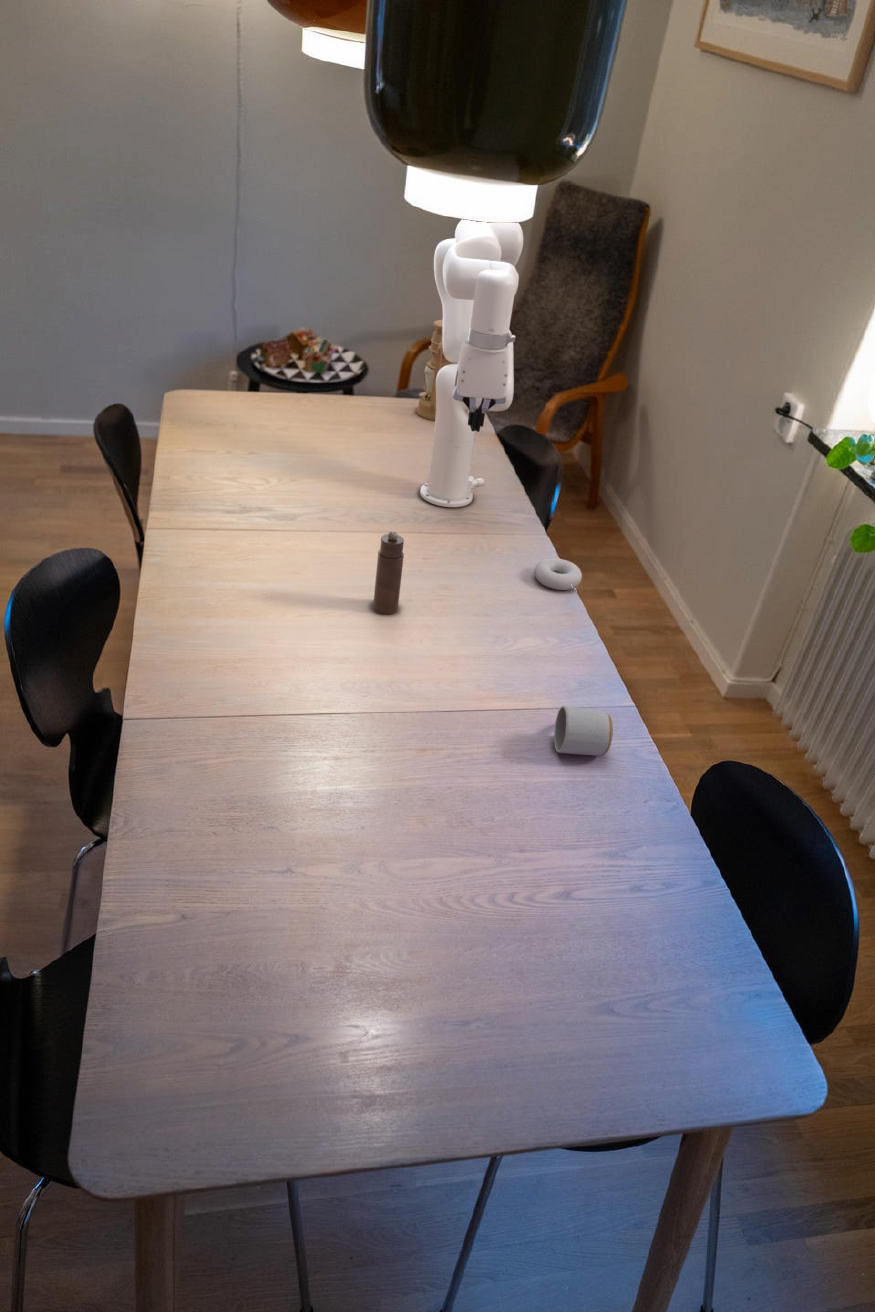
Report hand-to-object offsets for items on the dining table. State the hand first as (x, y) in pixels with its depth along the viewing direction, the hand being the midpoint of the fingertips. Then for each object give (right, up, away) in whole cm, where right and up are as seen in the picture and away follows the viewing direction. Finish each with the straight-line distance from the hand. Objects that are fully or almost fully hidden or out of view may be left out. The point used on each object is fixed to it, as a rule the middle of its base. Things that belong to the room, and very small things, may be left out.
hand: (474, 428), depth 203 cm
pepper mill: (-18, -37, -10) cm, 42 cm away
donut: (+18, -30, +7) cm, 36 cm away
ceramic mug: (+15, -61, -38) cm, 73 cm away
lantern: (-8, +22, +81) cm, 84 cm away
